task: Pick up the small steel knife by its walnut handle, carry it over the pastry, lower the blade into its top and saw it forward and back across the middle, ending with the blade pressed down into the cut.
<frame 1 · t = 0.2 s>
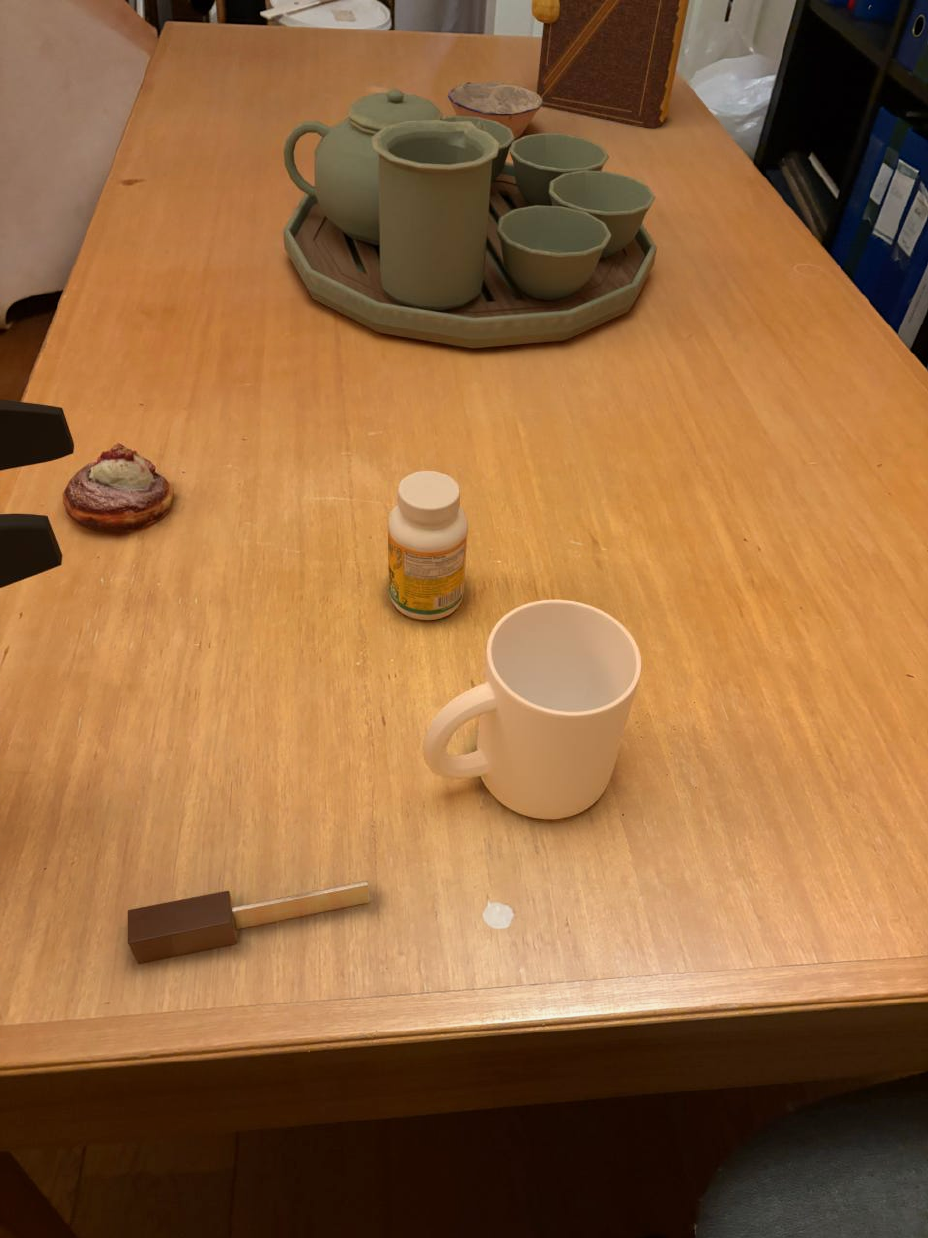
hand: (62, 481, 38), 22 cm above the table, tool horizontal, fingers open, 7 cm apart
tea set: (468, 260, 104), on the table
knife: (255, 923, 49), on the table
pastry: (121, 508, 72), on the table
mug: (514, 776, 56), on the table
book: (593, 110, 140), on the table
supplement bottle: (425, 597, 67), on the table
bowl: (492, 133, 131), on the table
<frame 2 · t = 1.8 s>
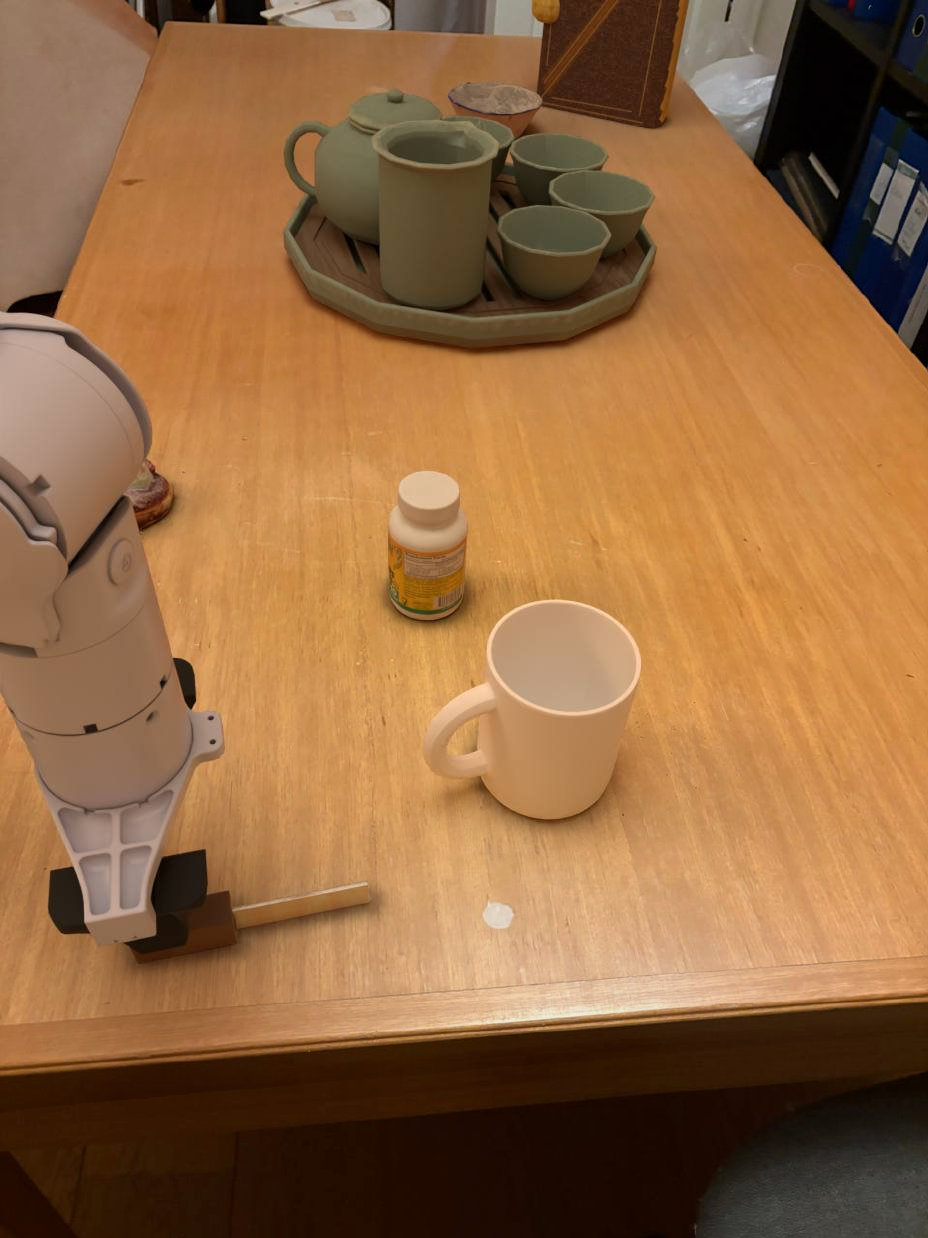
hand: (161, 864, 43), 8 cm above the table, tool pointing down, fingers open, 7 cm apart
nothing on the table moved.
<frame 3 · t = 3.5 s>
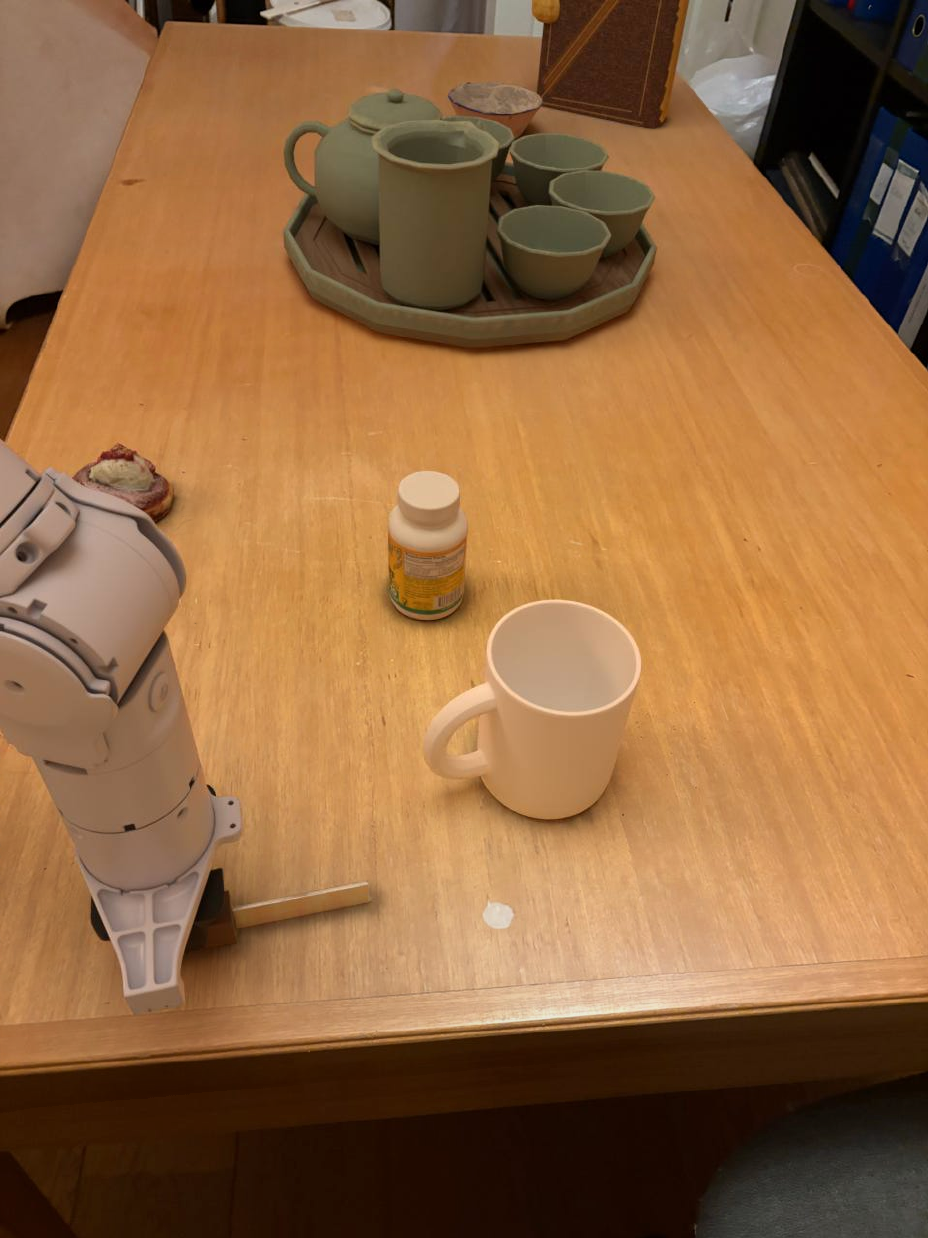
hand: (182, 925, 47), 1 cm above the table, tool pointing down, fingers closed on knife, 2 cm apart
knife: (255, 923, 49), on the table, touching gripper
everything else where it was.
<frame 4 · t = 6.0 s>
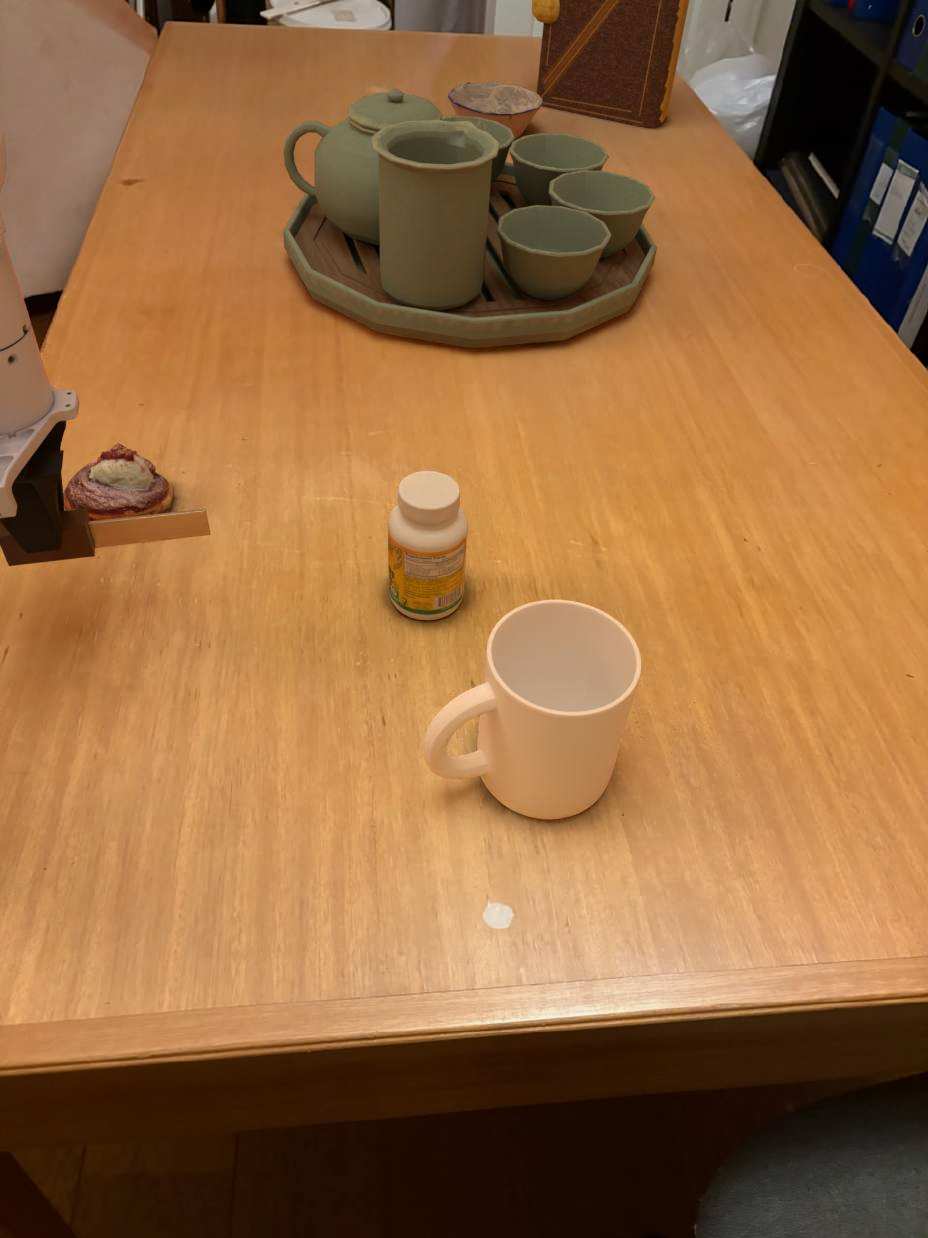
hand: (45, 534, 56), 8 cm above the table, tool pointing down, fingers closed on knife, 2 cm apart
knife: (112, 545, 58), point 7 cm above the table, touching gripper
everything else where it was.
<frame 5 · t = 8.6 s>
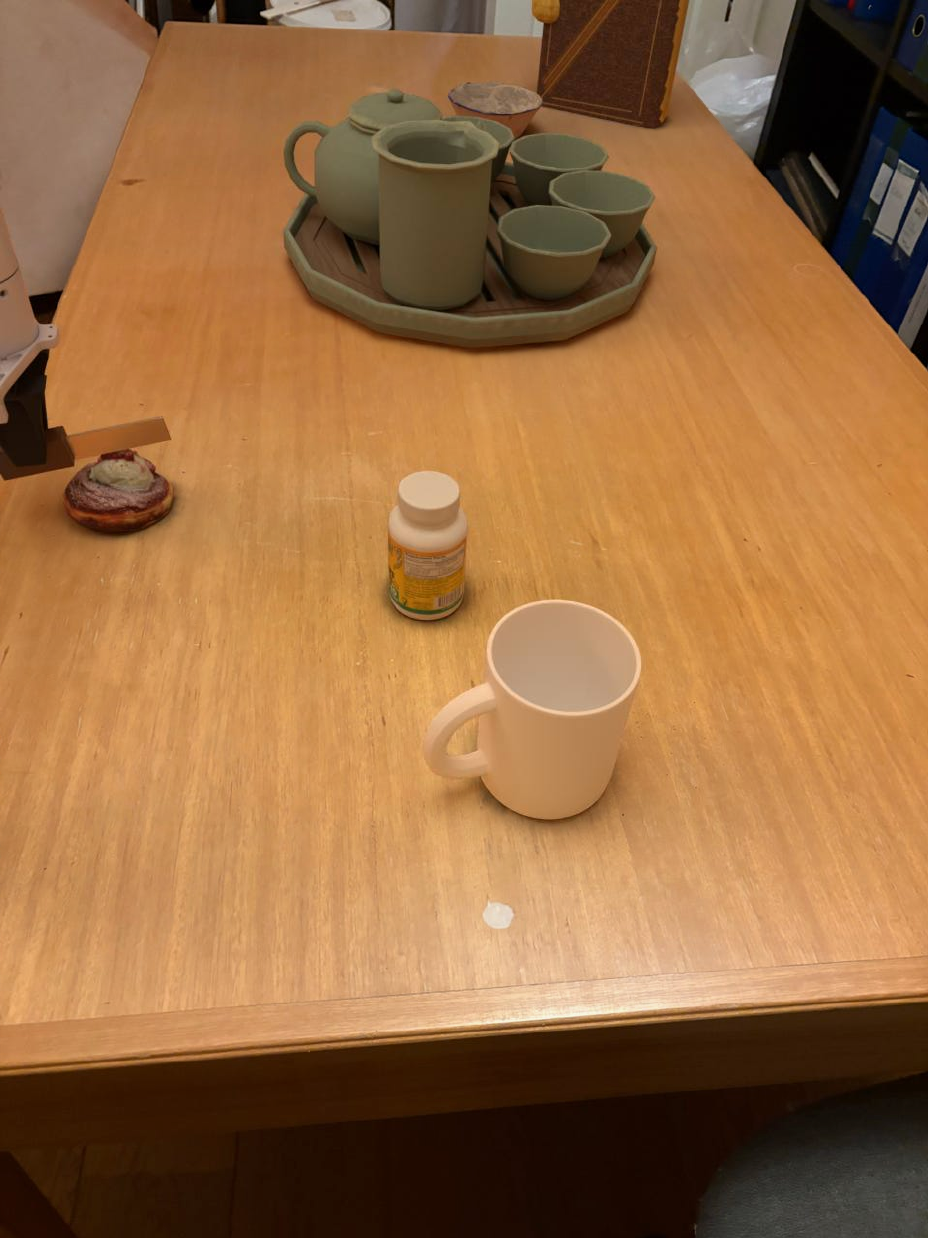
hand: (32, 453, 66), 6 cm above the table, tool pointing down, fingers closed on knife, 2 cm apart
knife: (89, 456, 68), point 5 cm above the table, tilted 8°, touching gripper
everything else where it was.
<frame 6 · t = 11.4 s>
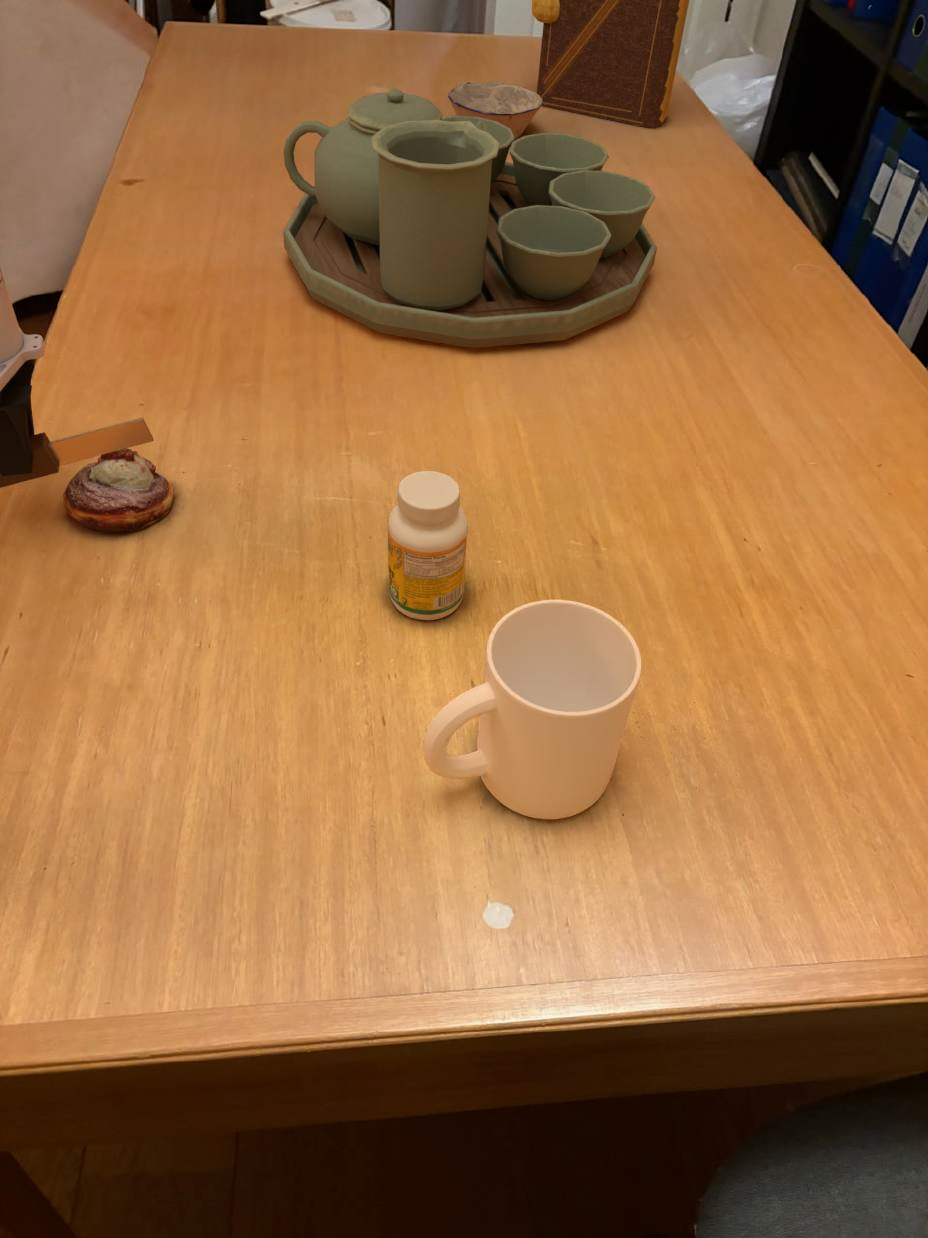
hand: (18, 461, 67), 5 cm above the table, tool pointing down, fingers closed on knife, 2 cm apart
knife: (73, 461, 68), point 5 cm above the table, tilted 11°, touching gripper, pastry
pastry: (121, 508, 72), on the table, touching knife
everything else where it was.
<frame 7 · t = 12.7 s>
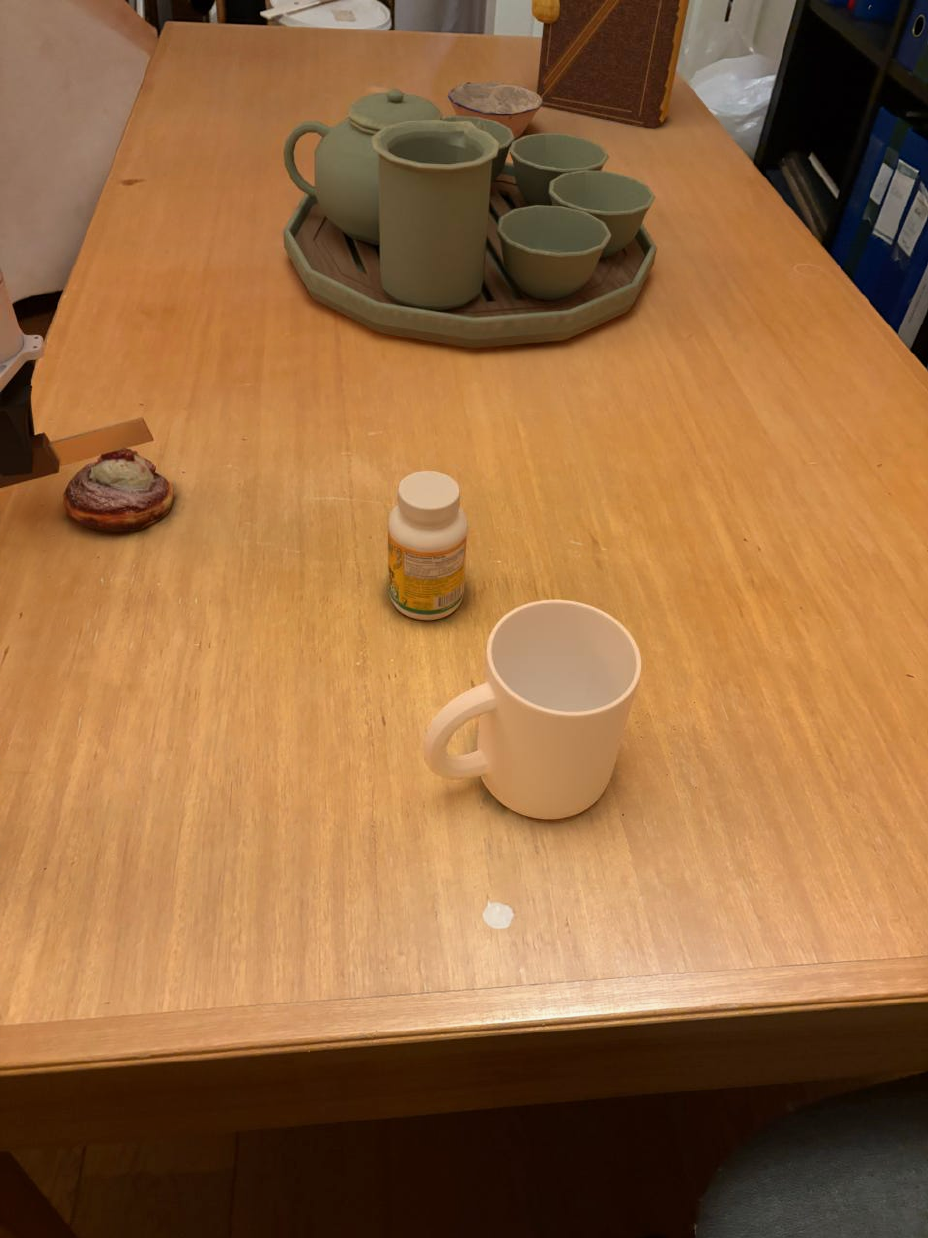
hand: (18, 462, 67), 5 cm above the table, tool pointing down, fingers closed on knife, 2 cm apart
knife: (73, 461, 68), point 5 cm above the table, tilted 12°, touching gripper, pastry
everything else where it was.
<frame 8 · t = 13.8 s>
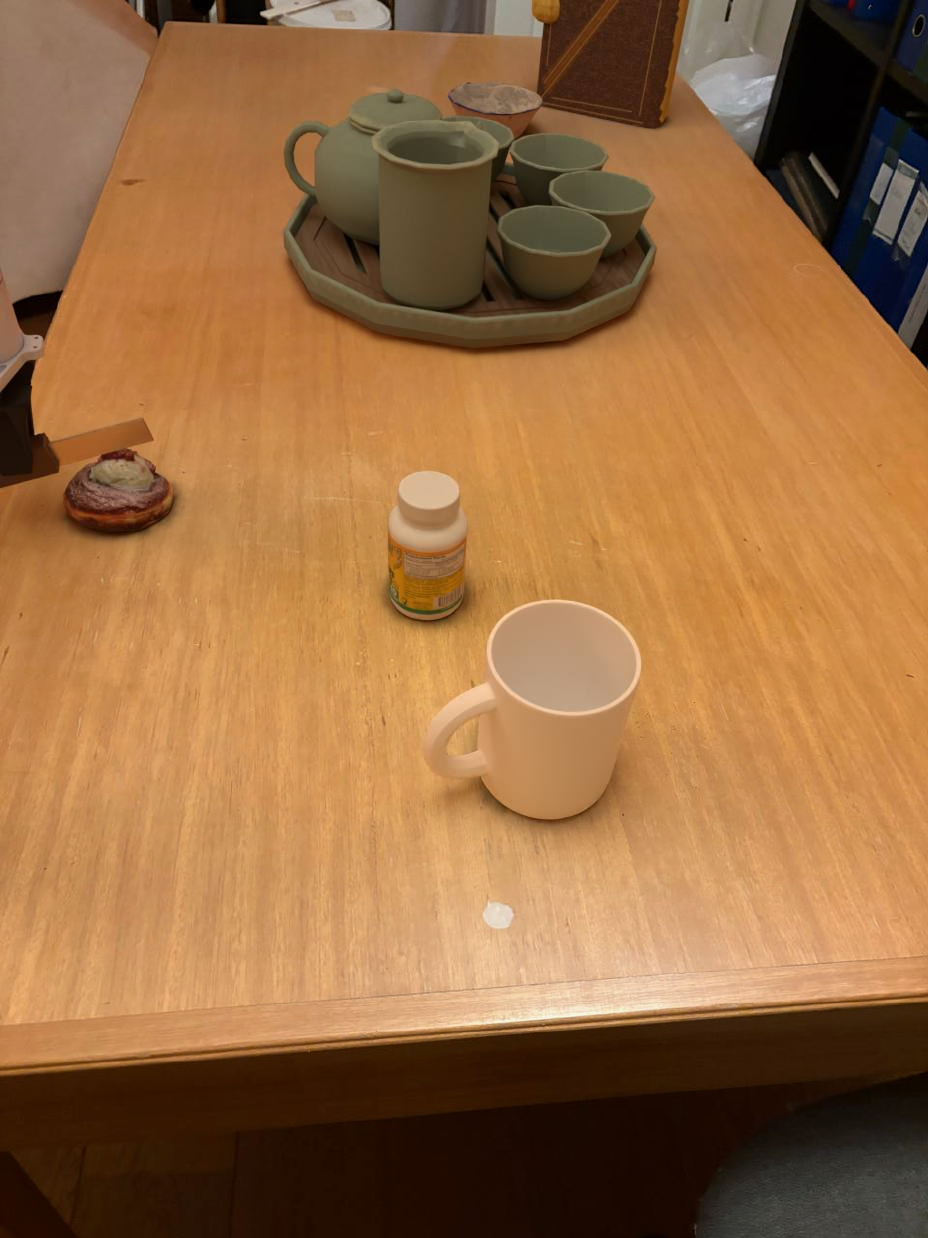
hand: (18, 462, 67), 5 cm above the table, tool pointing down, fingers closed on knife, 2 cm apart
knife: (73, 461, 68), point 5 cm above the table, tilted 12°, touching gripper, pastry
everything else where it was.
at the end: knife touching gripper, pastry; the gripper is holding knife; pastry moved 0.2 cm from its start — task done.
